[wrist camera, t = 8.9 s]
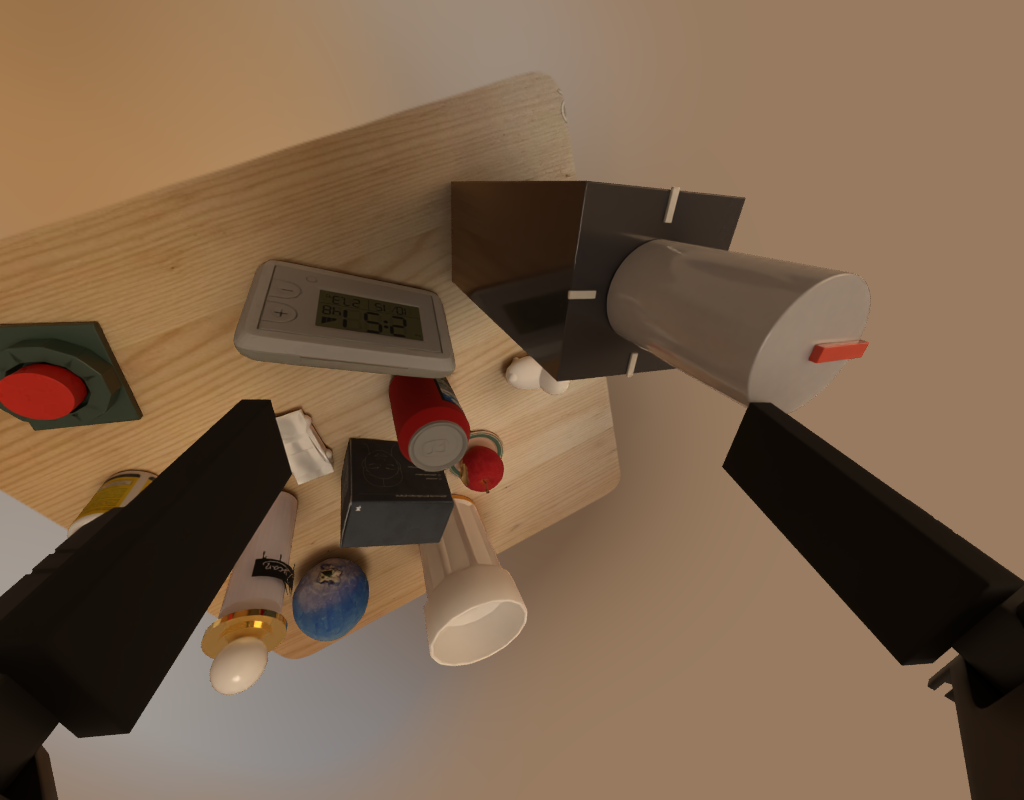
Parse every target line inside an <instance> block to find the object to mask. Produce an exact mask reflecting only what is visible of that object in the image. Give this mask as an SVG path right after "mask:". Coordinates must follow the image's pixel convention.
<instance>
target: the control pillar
mask: <svg viewBox="0 0 1024 800" xmlns="http://www.w3.org/2000/svg"><path fill="white" fill-rule="evenodd" d="M744 201H745V197H735V196H725V195H717V194H707V193H698V192H697V193H696V192H688V191H680V188H677V187H672V188H671V190H668V189H658V188H649V187H640V186H630V185H621V184H611V183H602V182H592V181H452V182H451V207H452V282H453V283H454V284H455V285H456V286H457V287H458V288H459V289H461V290H462V291H463V292H464V293H465V294H466V295H467V296H468V297H469V298H470V299H471V300H472V301H473V302H474V303H475V304H476V305H477V306H478V307H479V308H480V309H482V310H483V311H484V312H485V313H486V314H487V315H488V316H489V317H490V318H491V319H492V320H493V321H494V322H495V323H496V324H497V325H498V326H499V327H500V328H501V329H502V330H504V331H505V332H506V333H507V334H508V335H509V336H510V337H511V338H512V339H513V340H514V341H515V342H516V343H517V344H518V345H519V346H520V347H521V348H522V349H523V350H525V351H526V352H527V353H528V354H529V355H530V356H531V357H532V358H533V359H534V360H535V361H536V362H537V363H538V364H539V365H540V366H541V367H542V368H543V369H544V370H545V371H547V372H548V373H549V374H550V375H551V376H552V377H553V378H554V379H555V380H556V381H557V382H559V381H568V380H577V379H586V378H595V377H604V376H613V375H621V374H626V377H632V376H633V373H639V372H649V371H657V370H667V369H675V367H673V366H671V365H670V364H668V363H666V362H664V361H663V360H661V359H659V358H657V357H656V356H654V355H652V354H650V353H648V352H647V351H645V350H643V349H641V348H640V347H638V346H636V345H634V344H633V343H631V342H629V341H627V340H626V339H624V338H622V337H620V336H619V335H618V334H617V333H616V332H615V331H614V330H613V328H612V326H611V325H610V322H609V319H608V315H607V295H608V291H609V287H610V284H611V281H612V279H613V277H614V275H615V273H616V271H617V269H618V268H619V266H620V265H621V264H622V262H623V261H624V260H625V259H626V257H627V256H628V255H629V254H630V253H632V252H633V251H634V250H635V249H637V248H638V247H639V246H641V245H643V244H645V243H647V242H650V241H653V240H658V239H666V240H672V241H678V242H683V243H689V244H694V245H700V246H705V247H711V248H716V249H722V250H727V251H728V249H729V246H730V244H731V240H732V237H733V234H734V231H735V228H736V225H737V222H738V219H739V216H740V213H741V210H742V207H743V204H744ZM676 369H677V368H676Z"/></svg>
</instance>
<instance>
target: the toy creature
mask: <svg viewBox="0 0 1024 800" xmlns="http://www.w3.org/2000/svg"><path fill="white" fill-rule="evenodd" d="M505 375H506V380H507V381H508V382H509V384H510V385H512V386H514V387H516V388H518V389H523V390H534V389H539V388H542V389H543V390H544V391H545V392H547V393H549V394H551V395H559V394H562V393H563V392H565V391H566V390H567V389H568V387H569V384H570V380H568V381H559V382H557V381H556V380H555V379H554V378H553V377H552V376H551V375H550V374H549V373H548V372H547V371H545V370H544V369H543V368H542V367H541V366H540V365H539V364H538V363H537V362H536V361H535V360H534V359H533V358H532V357H531V356H526V357H523V358H520V359H519V358H518V357H516V358H514V359H513V360H512V363H511V365H510V366H509V367H508V368H507V371H506V374H505Z"/></svg>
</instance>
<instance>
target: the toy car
mask: <svg viewBox="0 0 1024 800" xmlns="http://www.w3.org/2000/svg"><path fill="white" fill-rule="evenodd" d="M276 420H277V424H278V427H279V430H280V434H281V437H282V441H283V444H284V447H285V451H286V454H287V458H288V461H289V464H290V468H291V471H292V473H293V475H294V476H295V478H296V480H297V483H298V485H300V484H303V483H305V482H308V481H311V480H314V479H316V478H319V477H322V476H324V475H327V474H330V473H332V472H334V468H333V460H332V458H331V457H332V451H331V450H329V449H326V447H325V445H324V444H323V442H322V440H321V439H320V437H319V435H318V434H317V432H316V431H315V429H314V427H313V426H312V424H311V422H312V420H311V418H310V416H308V415H304V413H303V411H302V409H300V410H297V411H294V412H291V413H288V414H285V415H282V416H279V417H276Z"/></svg>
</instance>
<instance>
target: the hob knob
mask: <svg viewBox="0 0 1024 800" xmlns="http://www.w3.org/2000/svg"><path fill="white" fill-rule="evenodd" d="M869 310H870V291H869V288H868V285H867V283H866V282H865V281H864V279H862V278H861V277H860V276H859V275H856V274H853V273H849V272H843V271H838V270H832V269H827V268H821V267H815V266H810V265H804V264H799V263H793V262H788V261H782V260H776V259H770V258H766V257H760V256H755V255H749V254H744V253H738V252H732V251H727V250H722V249H716V248H711V247H705V246H700V245H694V244H689V243H683V242H678V241H672V240H666V239H658V240H653V241H650V242H647V243H645V244H643V245H641V246H639V247H638V248H637V249H635V250H634V251H633V252H632V253H630V254H629V255H628V256H627V257H626V259H625V260H624V261H623V262H622V264H621V265H620V266H619V268H618V269H617V271H616V273H615V275H614V277H613V279H612V281H611V284H610V287H609V291H608V295H607V315H608V319H609V322H610V325H611V326H612V328H613V330H614V331H615V332H616V333H617V334H618V335H619V336H620V337H622V338H624V339H626V340H627V341H629V342H631V343H633V344H634V345H636V346H638V347H640V348H641V349H643V350H645V351H647V352H648V353H650V354H652V355H654V356H656V357H657V358H659V359H661V360H663V361H664V362H666V363H668V364H670V365H671V366H673V367H675V368H677V369H678V370H680V371H682V372H684V373H685V374H687V375H689V376H691V377H693V378H694V379H696V380H698V381H700V382H701V383H703V384H705V385H707V386H708V387H710V388H712V389H714V390H715V391H717V392H719V393H721V394H723V395H724V396H726V397H728V398H730V399H731V400H733V401H735V402H737V403H738V404H740V405H742V406H744V407H745V408H748V406H749V403H750V402H771V403H772V404H774V405H775V406H776V407H778V408H779V409H781V410H782V411H784V412H785V413H786V414H788V413H791V412H793V411H795V410H797V409H798V408H800V407H802V406H803V405H805V404H806V403H808V402H809V401H810V400H812V399H813V398H814V397H815V396H816V395H818V394H819V393H820V392H821V391H822V390H823V389H824V388H825V387H826V386H827V385H828V384H829V383H830V382H831V381H832V380H833V379H834V378H835V376H836V375H837V374H838V373H839V372H840V370H841V369H842V368H843V366H844V365H845V363H846V362H847V361H848V359H853V358H860V357H862V355H863V353H864V351H865V350H866V348H867V346H868V344H869V342H866V341H863V340H860V338H861V336H862V333H863V331H864V328H865V325H866V323H867V319H868V315H869Z"/></svg>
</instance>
